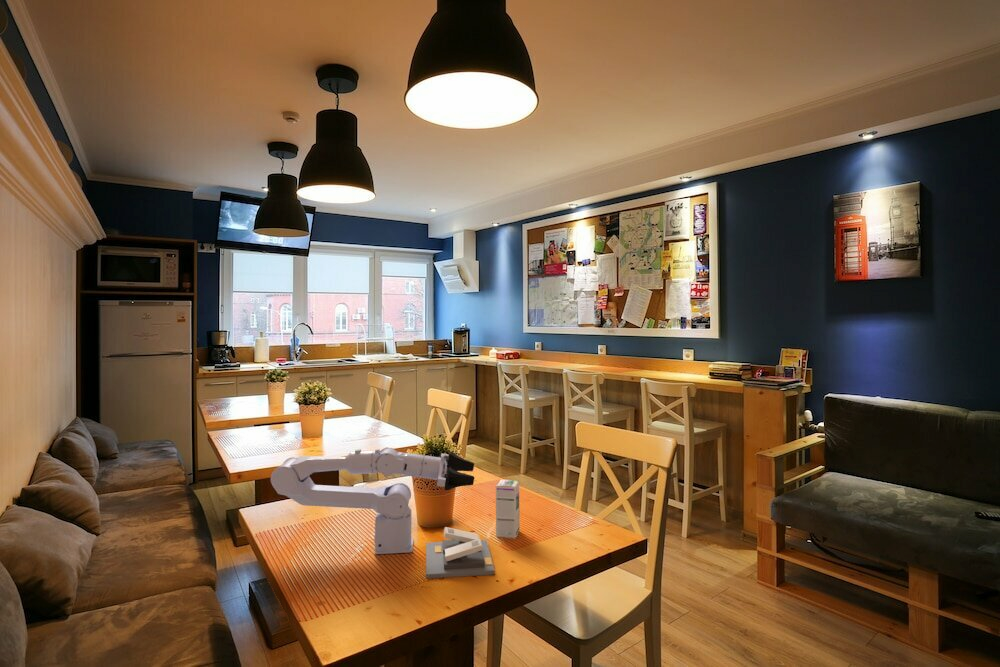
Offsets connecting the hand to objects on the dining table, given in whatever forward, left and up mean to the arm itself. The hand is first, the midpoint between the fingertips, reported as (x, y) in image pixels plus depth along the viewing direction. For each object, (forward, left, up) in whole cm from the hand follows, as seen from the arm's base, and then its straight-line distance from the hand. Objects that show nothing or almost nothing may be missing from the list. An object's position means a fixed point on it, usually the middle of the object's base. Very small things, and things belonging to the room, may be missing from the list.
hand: (473, 473), depth 139 cm
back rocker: (-3, -4, -15) cm, 16 cm away
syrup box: (+10, +6, -19) cm, 23 cm away
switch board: (-4, -8, -19) cm, 21 cm away
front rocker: (-3, -12, -15) cm, 19 cm away
